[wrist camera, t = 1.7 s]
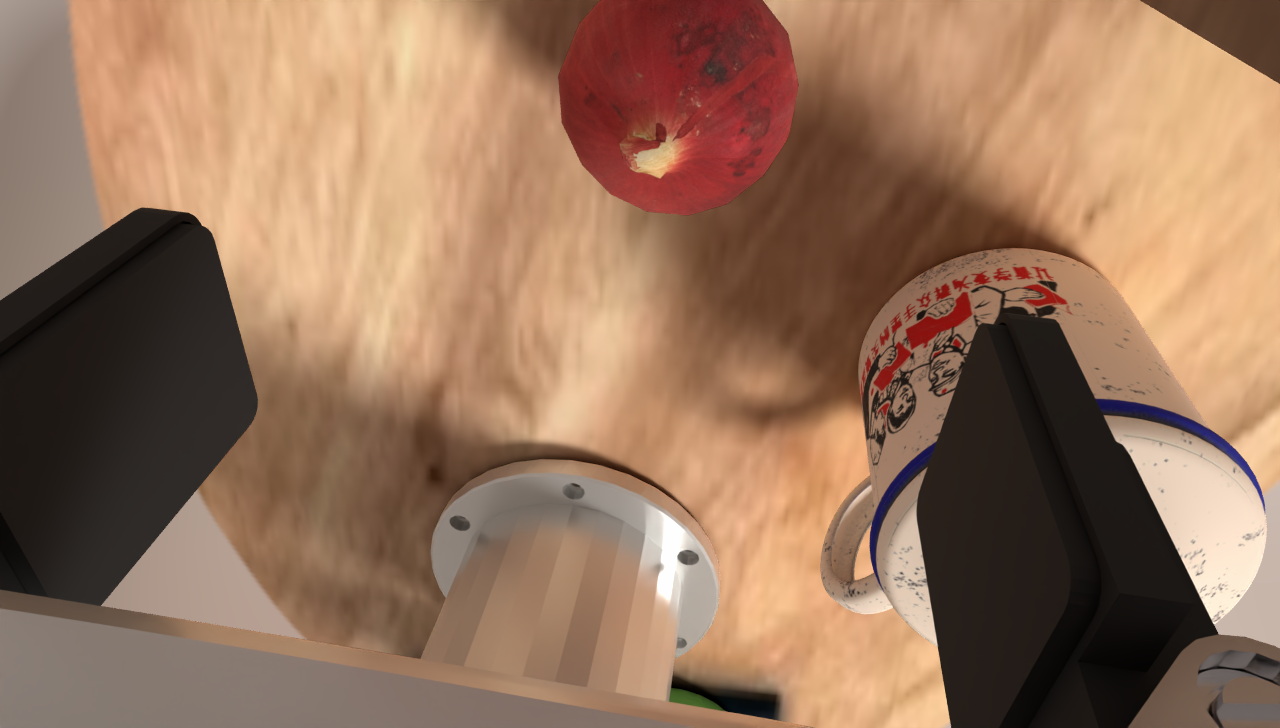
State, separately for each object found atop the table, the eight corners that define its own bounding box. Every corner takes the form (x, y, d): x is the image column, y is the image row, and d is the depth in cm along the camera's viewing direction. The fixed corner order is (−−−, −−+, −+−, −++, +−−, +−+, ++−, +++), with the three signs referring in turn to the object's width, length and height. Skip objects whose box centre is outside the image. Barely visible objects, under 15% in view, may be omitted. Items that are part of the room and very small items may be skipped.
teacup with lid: (1023, 176, 24) (1175, 424, 15) (1200, 361, 27) (1427, 675, 17) (736, 402, 30) (713, 680, 21) (902, 536, 33) (949, 838, 23)
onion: (701, -109, 21) (662, -64, 15) (838, 62, 23) (858, 169, 17) (551, 48, 24) (464, 145, 18) (685, 190, 26) (651, 324, 20)
